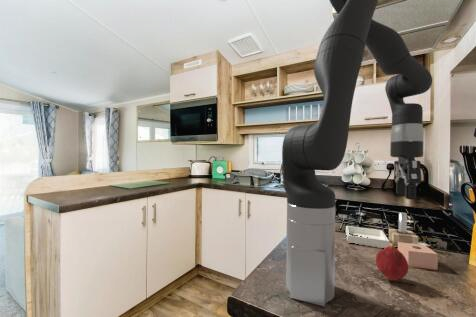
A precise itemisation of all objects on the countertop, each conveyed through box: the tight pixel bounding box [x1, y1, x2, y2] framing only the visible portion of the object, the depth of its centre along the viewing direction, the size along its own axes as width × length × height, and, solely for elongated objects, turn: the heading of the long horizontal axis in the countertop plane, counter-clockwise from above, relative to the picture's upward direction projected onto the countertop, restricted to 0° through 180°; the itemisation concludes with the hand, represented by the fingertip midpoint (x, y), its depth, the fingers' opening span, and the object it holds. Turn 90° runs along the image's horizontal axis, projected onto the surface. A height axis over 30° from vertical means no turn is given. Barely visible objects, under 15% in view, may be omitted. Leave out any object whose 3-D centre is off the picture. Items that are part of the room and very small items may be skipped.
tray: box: [345, 225, 390, 249], centre depth 71 cm, size 11×11×2 cm
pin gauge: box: [398, 212, 408, 234], centre depth 67 cm, size 2×2×10 cm
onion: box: [375, 243, 409, 282], centre depth 47 cm, size 6×6×8 cm
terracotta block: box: [397, 242, 439, 270], centre depth 56 cm, size 6×6×4 cm
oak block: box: [388, 228, 419, 247], centre depth 67 cm, size 6×6×4 cm
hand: (405, 196), depth 62 cm, fingers open, 8 cm apart
